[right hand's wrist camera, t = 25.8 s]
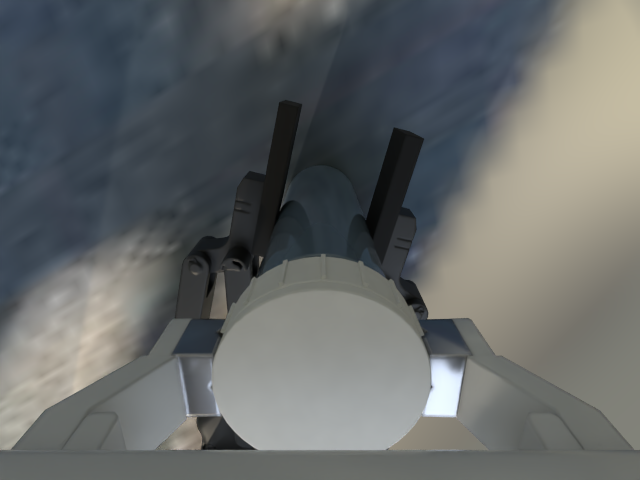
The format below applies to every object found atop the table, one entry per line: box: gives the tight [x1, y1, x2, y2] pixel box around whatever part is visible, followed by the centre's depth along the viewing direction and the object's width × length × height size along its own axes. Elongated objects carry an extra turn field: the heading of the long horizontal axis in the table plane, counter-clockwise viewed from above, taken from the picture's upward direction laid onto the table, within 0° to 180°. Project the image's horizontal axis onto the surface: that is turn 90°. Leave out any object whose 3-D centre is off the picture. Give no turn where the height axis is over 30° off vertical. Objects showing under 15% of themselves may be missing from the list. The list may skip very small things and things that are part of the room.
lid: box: [212, 254, 432, 450], centre depth 9 cm, size 5×5×2 cm
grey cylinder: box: [256, 165, 387, 279], centre depth 17 cm, size 4×4×16 cm
